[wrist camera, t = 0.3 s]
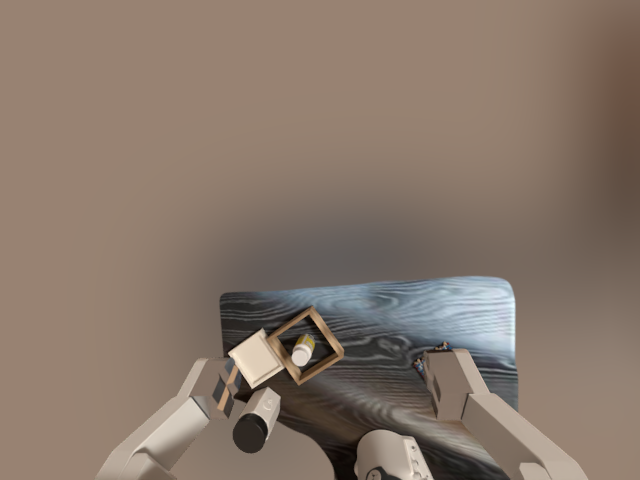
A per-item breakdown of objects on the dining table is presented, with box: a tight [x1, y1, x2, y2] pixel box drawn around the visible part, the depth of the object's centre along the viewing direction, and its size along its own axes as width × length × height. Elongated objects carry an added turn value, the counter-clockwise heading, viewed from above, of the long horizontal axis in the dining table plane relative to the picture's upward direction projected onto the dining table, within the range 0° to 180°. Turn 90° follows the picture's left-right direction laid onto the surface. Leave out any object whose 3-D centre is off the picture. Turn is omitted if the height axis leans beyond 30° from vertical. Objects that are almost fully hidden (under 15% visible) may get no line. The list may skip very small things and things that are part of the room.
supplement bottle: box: [292, 334, 315, 366], centre depth 62 cm, size 5×5×8 cm
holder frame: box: [267, 306, 344, 385], centre depth 64 cm, size 15×15×4 cm
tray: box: [228, 328, 285, 389], centre depth 68 cm, size 12×12×2 cm
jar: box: [233, 387, 280, 453], centre depth 63 cm, size 9×8×12 cm
